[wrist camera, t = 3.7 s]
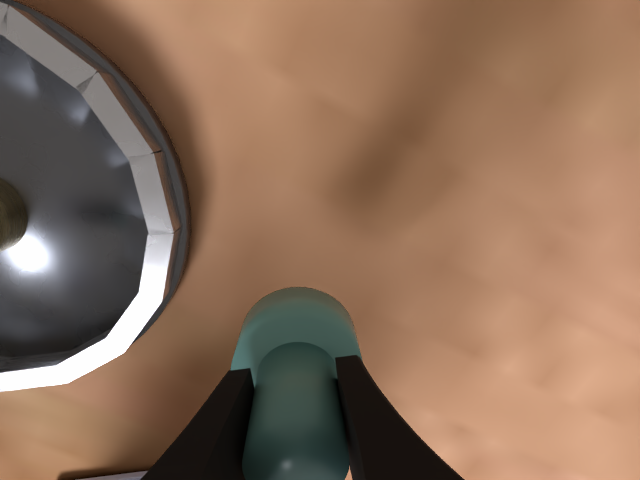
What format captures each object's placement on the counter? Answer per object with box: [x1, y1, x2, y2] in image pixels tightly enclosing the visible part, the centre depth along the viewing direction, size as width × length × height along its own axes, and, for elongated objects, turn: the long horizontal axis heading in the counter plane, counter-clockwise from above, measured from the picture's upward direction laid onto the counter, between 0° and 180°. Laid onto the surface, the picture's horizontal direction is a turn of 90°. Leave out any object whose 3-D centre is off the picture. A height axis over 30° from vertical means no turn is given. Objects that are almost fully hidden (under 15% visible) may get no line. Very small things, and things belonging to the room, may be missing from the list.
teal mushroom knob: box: [231, 287, 362, 480], centre depth 11 cm, size 4×4×5 cm
